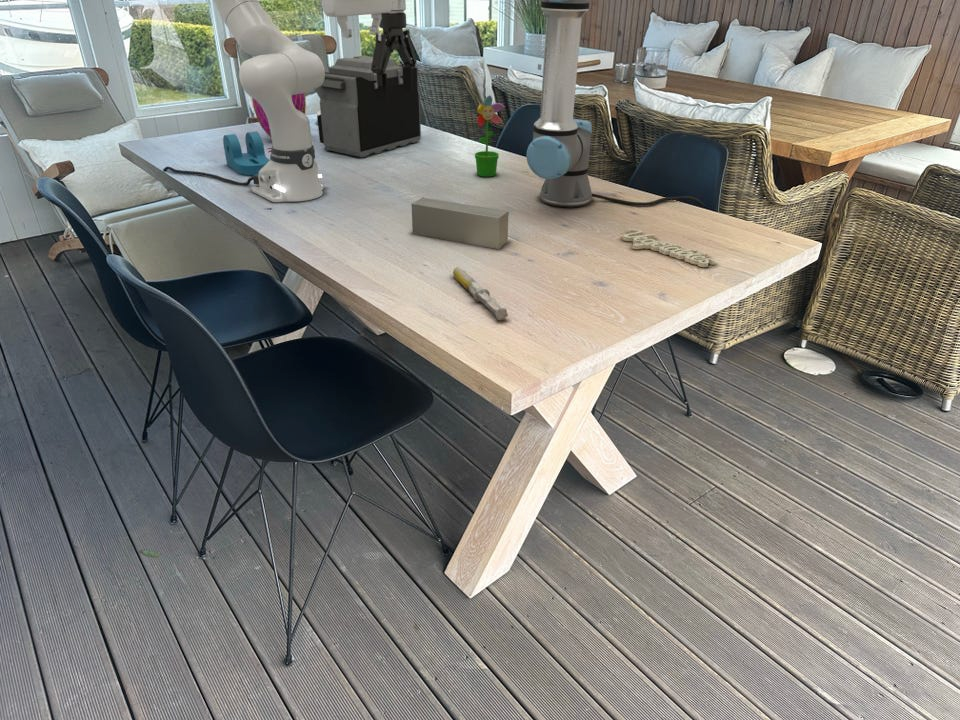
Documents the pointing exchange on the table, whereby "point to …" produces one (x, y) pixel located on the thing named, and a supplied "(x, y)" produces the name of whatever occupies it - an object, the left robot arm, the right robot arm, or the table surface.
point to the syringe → (479, 293)
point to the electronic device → (367, 108)
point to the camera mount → (245, 161)
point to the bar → (460, 222)
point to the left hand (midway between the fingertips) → (361, 35)
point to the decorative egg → (297, 100)
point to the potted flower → (487, 159)
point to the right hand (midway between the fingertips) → (396, 94)
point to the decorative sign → (667, 248)
